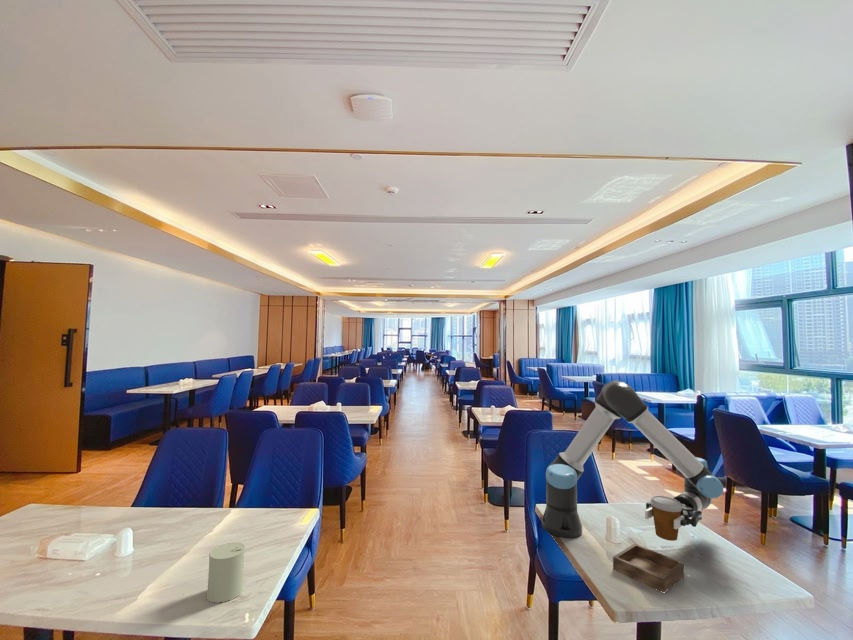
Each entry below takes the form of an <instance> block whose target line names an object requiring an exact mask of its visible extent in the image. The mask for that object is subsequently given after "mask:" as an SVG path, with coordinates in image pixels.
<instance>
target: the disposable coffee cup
mask: <svg viewBox="0 0 853 640" xmlns="http://www.w3.org/2000/svg"><path fill="white" fill-rule="evenodd" d="M673 498H674V497H673ZM673 498H672V497H669V496H664V495H652V496H651V498H650V500H649V502H650V503H651V505H652V511H653V517H652V518H653V523H654V530H655V535H656V536H657V537H658V538H660V539H663V540H665V541H671V542H672V541H673V542H674V541H677V540H678V537H679V536H678V535H679V528H678V529H677V530H676V529H674V520H675V519H677V518H678V517H680V514H681V510H682V506H681V503H680V502H679V501H678V500H676V499H673Z"/></svg>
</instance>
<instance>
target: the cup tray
mask: <svg viewBox="0 0 853 640" xmlns="http://www.w3.org/2000/svg"><path fill="white" fill-rule="evenodd" d="M684 566H685V565H684V562H682V561H679V560H678V559H674V558H672V557H670V556H667V555H664V554H662V553H660V552H657V551H655V550H652V549H649V548H646V547H645V546H642V545H641V544H637V543H633V544H632V545H630V546H628V547H626V548H625V549H623V550H622V551H619V552H618V553H617V554H615V555H613V556H612V569H613V571H614V572H615V571H616V573H617V572H618V573H619V574H621V575H624V576H625V577H628V578H630V579H632V580H634V581H636V582H638V583H640V584H643V585H645V586H647V587H649V588H651V587H652V588H651V589H653V588H654V589H653V590H655V589H657V590H659V591H662V592H665V591H666V590H667V589H669V588H670V587H671V586H672V587H673V586H674V584H675V583H676V584H677V583H679V582H680V581H681V580H682V579H684V577H685V567H684ZM676 584H675V585H676ZM672 587H671V588H672ZM671 588H670V589H671ZM670 589H669V590H670ZM657 590H656V591H657ZM659 591H658V592H659ZM666 592H667V591H666ZM666 592H665V593H666Z"/></svg>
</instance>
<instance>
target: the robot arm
mask: <svg viewBox="0 0 853 640" xmlns="http://www.w3.org/2000/svg"><path fill="white" fill-rule="evenodd" d="M594 405H595V408H594V409H593V410H592V412H591V413H590V415H589V416H588V418H587V419H586V420H585V422H584V423H583V425H582V426H581V428H580V429H579V431H578V432H577V434H576V435H575V436H574V438H573V439H572V441H571V443H570V444H569V445H568V447H567V448H566V450H565V451H564V452H559V453H558V455H557V456H556V457H555V459H554V460H552V461H551V463H550V464H549V465H548V466H547V468H546V472H545V483H546V485H545V488H546V490H545V491H546V492H545V495H546V499H545V501H546V503H545V504H546V505H545V506H546V507H545V509H544V512H543V516H542V518H541V527H542V529H543V530H544V531H545V532H547V533H549V534H551V535H553V536H556V537H561V538H571V539H572V538H577V537H580V536H581V535H582V534H583V525H582V522H581V519H580V515H579V513H578V480H579V479H580V477H581V476H582V475H583V473H584V471H585V469H584V464H585V463H586V461H587V460H588V459H589V457H590V456H591V455H592V453H593V452H594V450H595V449H596V447H597V445H599V443H600V441H601V440H602V438H603V437H604V435H606V433H607V432H608V430H609V429H610V427H611V426H612V424H613V423H614V422H615V420H619V419H621V418H623V419H624V420H625V421H626V422H627V423H628V424H632V425H633V426H634V427H636V429H637V430H638V431H640V433H641V434H642V435H643V436H645V438H646V439H648V441H649V442H650V443H651V444H652V445H653V446H654V447H655V448H656V449H657V450H658V451H659V452H660V453H661V454H662V455H663V456H664V457H665V458H666V459H667V460H668V461H669V462H670V463H671V464H672V465H673V466H674V467H675V468H676V469H677V470H678V471H679V472H680V473H681V474H682V475H683V479H684V483H683V485H684V487H683V488H684V489H683V490H684V492H682V493H680V494H677V496H674V497H673V499H676V500H678V501H679V502H680V503H681V506H682V510H681V514H680V517H678V518H677V519H675V520H674V529H676V530H677V529H678V528H681V527H685V526H689V525H690V526H692V527H695V528H696V527H697V525H698V523H699V521H701V520H702V519H703V516H702V515H703V514H702V513H703V512H702V511H703V510H706V509H707V508H708V507H710V506H711V504H712V501H713V499H717V498H720V497H721V496H722V495H723V493H724V485H723V483H722V482H721V481H720V479H719V478H718V477H717V476H715V475H714V474H713V473H712V472H711V471H710V470H709V467H708V461H707V460H706V459H703V458H701V457H697V456H695V455H694V454H693V453H691V452H690V450H689V449H688V448H686V446H685V445H684V444H683V443H682V442H680V440H678V439H677V437H676V436H674V434H672V432H671V431H669V429H668V428H666V427H665V425H664V424H662V422H660V421H659V419H657V418H656V416H655V415H653V413H651V412H650V411H649V406H648V405H647V404H646V403H645V401H643V399H642V398H641V397H640V396H639V395H638V393H637V392H636V391H635V389H634V388H633V387H632V386H631V385H629V384H627V383H626V382H624V381H622V380H617V379H615V380H610V381H608V382H606V383H605V384H603V386H602V388H601V391H600V393H599V394H598V396H597V398H596V399H595V400H594ZM651 518H654V517H653V511H652V505H651V503H650V501H649V502H646V503H645V510H644V519H646V520H649V519H651ZM678 530H679V529H678Z"/></svg>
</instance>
